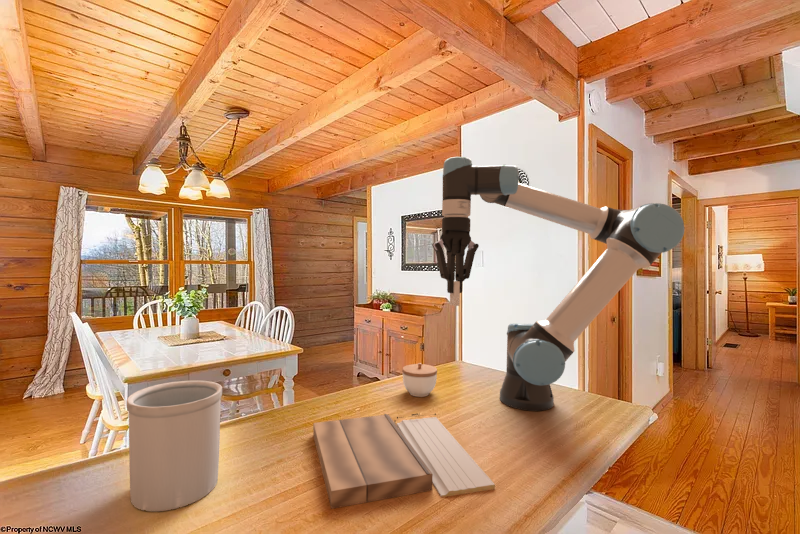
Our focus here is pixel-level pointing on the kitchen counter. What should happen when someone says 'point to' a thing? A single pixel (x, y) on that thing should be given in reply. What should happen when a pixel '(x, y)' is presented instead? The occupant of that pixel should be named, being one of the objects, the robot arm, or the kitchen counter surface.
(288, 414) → the kitchen counter surface
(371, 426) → the grooved tan panel
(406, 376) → the lidded jar
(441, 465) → the baseboard molding
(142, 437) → the utensil holder
